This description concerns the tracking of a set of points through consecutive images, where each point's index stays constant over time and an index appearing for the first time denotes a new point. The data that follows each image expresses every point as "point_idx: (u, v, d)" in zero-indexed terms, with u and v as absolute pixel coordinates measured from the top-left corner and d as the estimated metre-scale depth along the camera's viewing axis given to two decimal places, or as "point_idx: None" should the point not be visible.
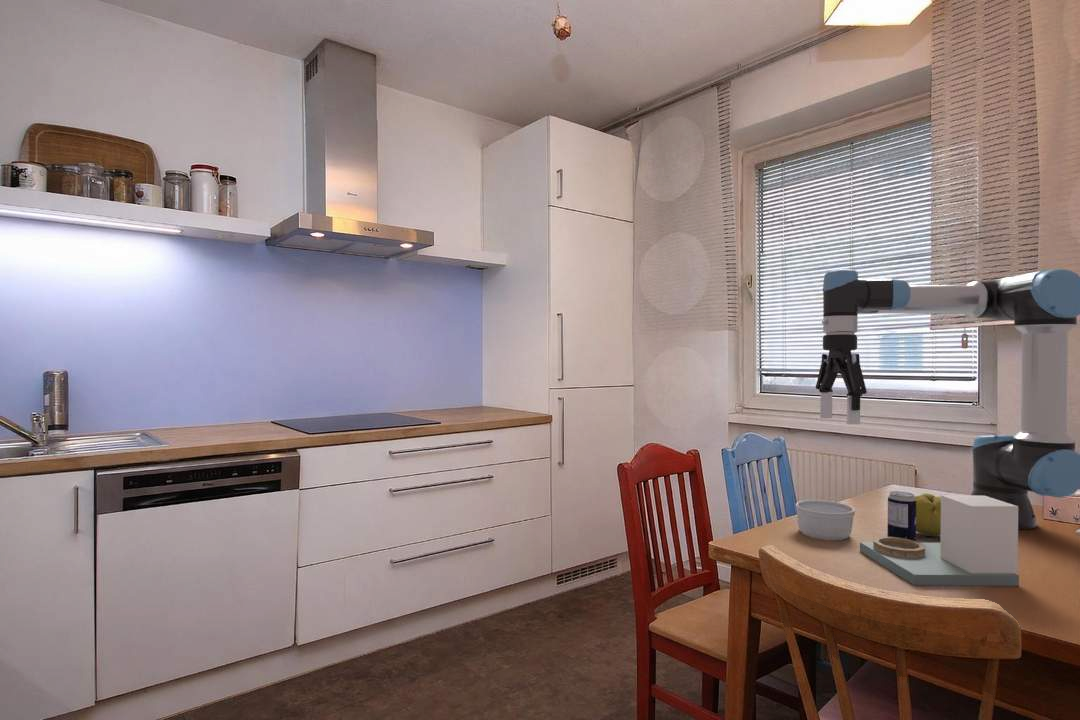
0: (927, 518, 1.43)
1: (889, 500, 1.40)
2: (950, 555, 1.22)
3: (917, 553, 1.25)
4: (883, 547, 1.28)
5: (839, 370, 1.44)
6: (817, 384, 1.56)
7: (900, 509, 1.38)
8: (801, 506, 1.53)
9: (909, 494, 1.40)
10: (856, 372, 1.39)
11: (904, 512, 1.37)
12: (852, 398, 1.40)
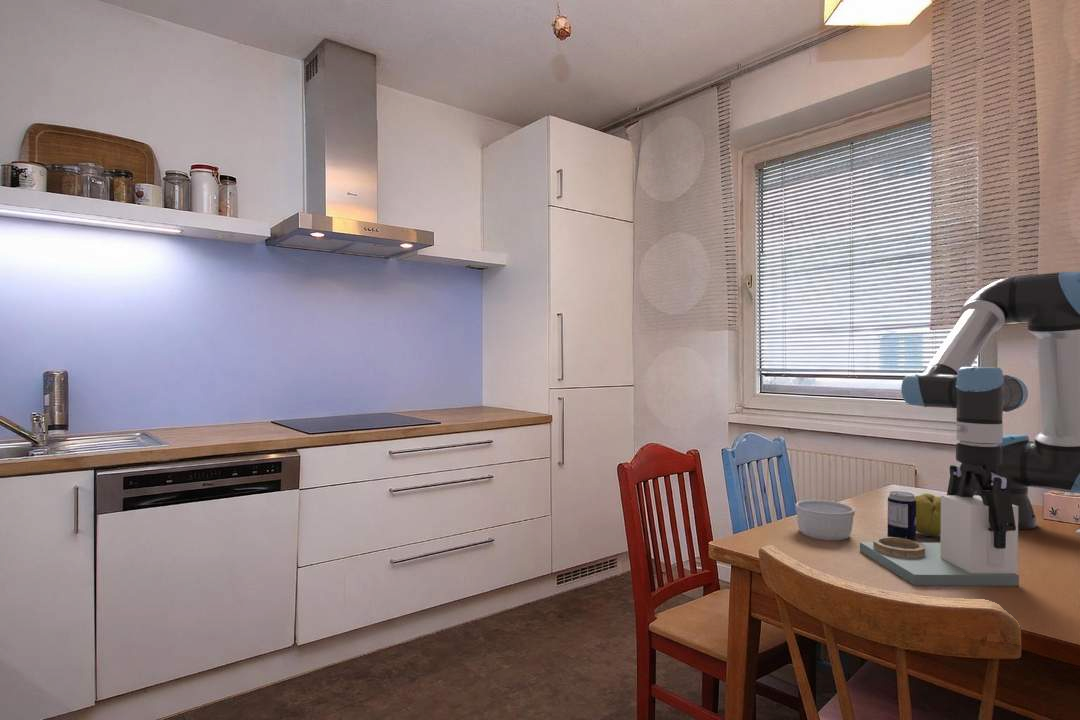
0: (927, 518, 1.43)
1: (889, 500, 1.40)
2: (950, 555, 1.22)
3: (917, 553, 1.25)
4: (883, 547, 1.28)
5: (979, 492, 1.18)
6: None
7: (899, 509, 1.38)
8: (801, 506, 1.53)
9: (909, 494, 1.40)
10: (1005, 502, 1.14)
11: (904, 512, 1.37)
12: (995, 533, 1.15)
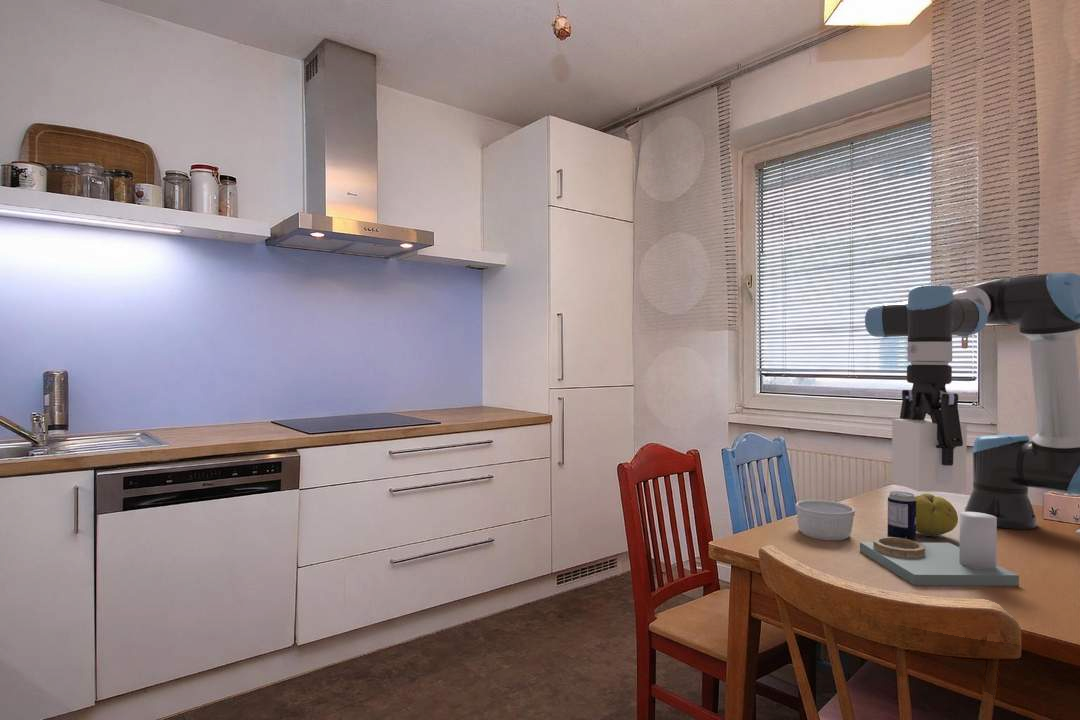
0: (927, 518, 1.43)
1: (889, 500, 1.40)
2: (900, 477, 1.21)
3: (917, 553, 1.25)
4: (883, 547, 1.28)
5: (928, 411, 1.17)
6: None
7: (900, 509, 1.38)
8: (801, 506, 1.53)
9: (909, 494, 1.40)
10: (953, 417, 1.13)
11: (904, 512, 1.37)
12: (943, 451, 1.14)
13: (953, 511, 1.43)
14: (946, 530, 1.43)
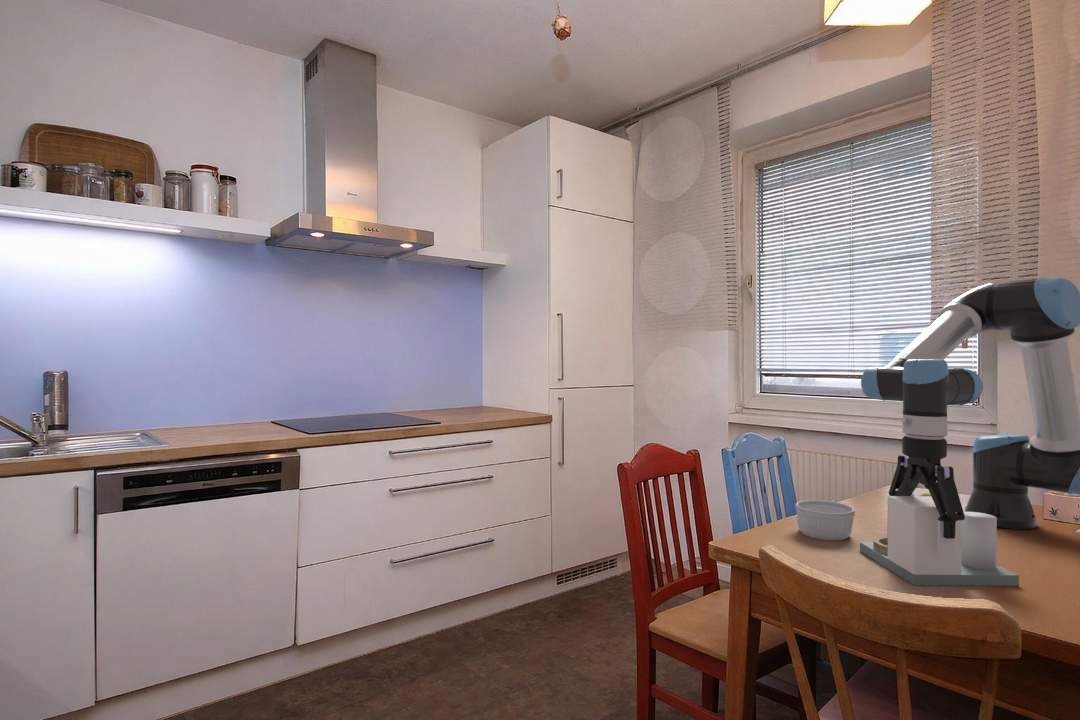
0: None
1: None
2: (896, 556, 1.22)
3: None
4: (883, 547, 1.28)
5: (926, 484, 1.17)
6: (891, 490, 1.29)
7: None
8: (801, 506, 1.53)
9: None
10: (951, 490, 1.12)
11: None
12: (944, 523, 1.13)
13: None
14: None
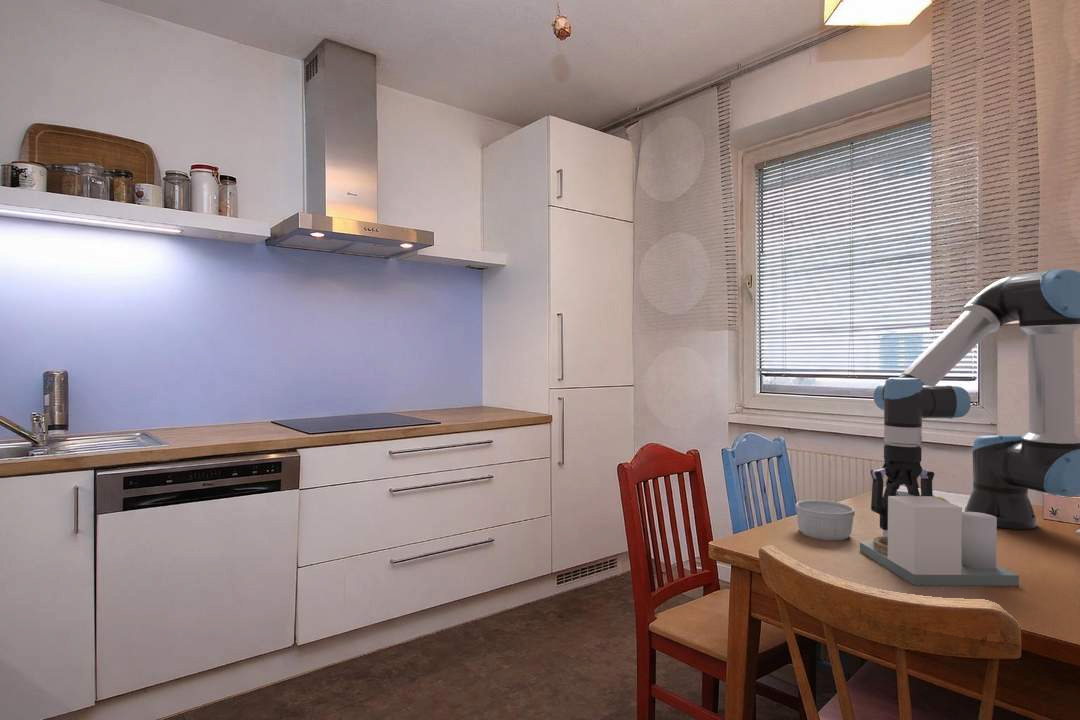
0: None
1: None
2: (896, 556, 1.22)
3: None
4: (883, 547, 1.28)
5: None
6: None
7: None
8: (801, 506, 1.53)
9: (909, 494, 1.40)
10: (875, 490, 1.40)
11: None
12: None
13: None
14: None
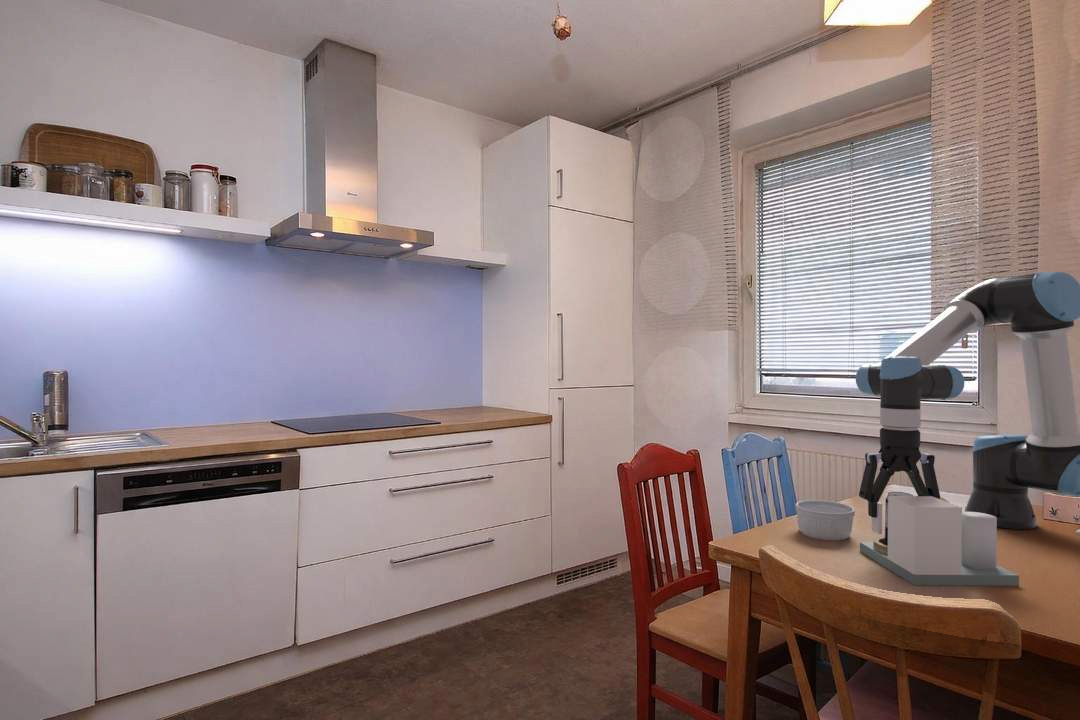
0: None
1: (886, 501, 1.30)
2: (896, 556, 1.22)
3: None
4: (883, 547, 1.28)
5: None
6: None
7: None
8: (801, 506, 1.53)
9: (909, 495, 1.30)
10: (866, 474, 1.30)
11: None
12: None
13: None
14: None
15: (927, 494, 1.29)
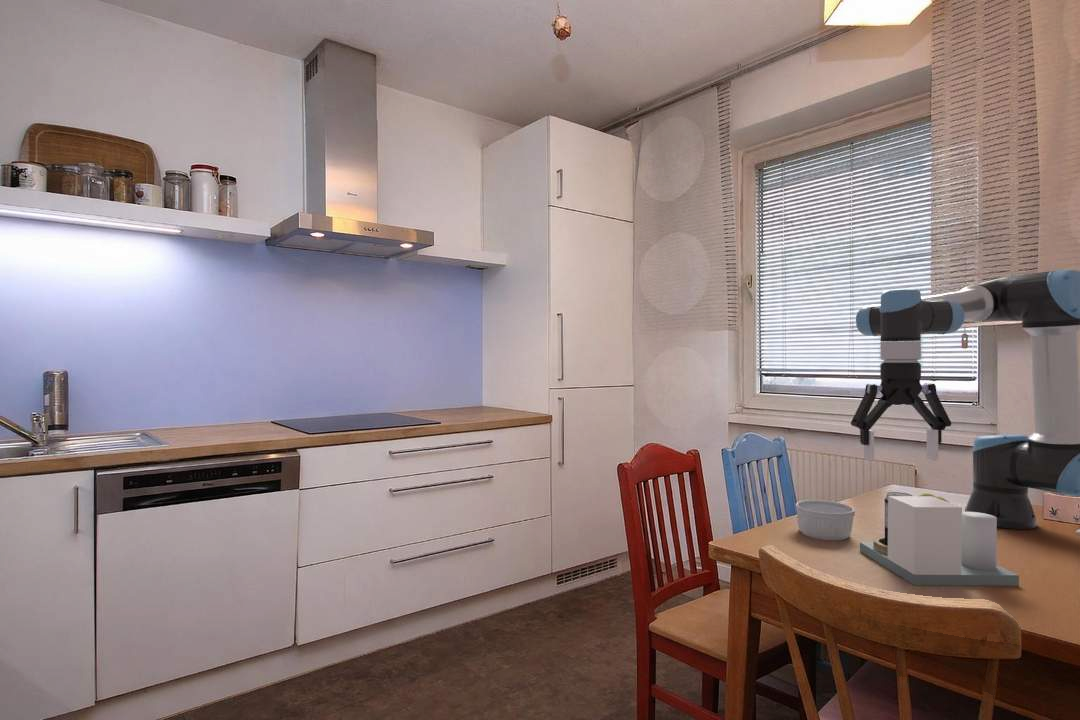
0: None
1: (885, 501, 1.31)
2: (896, 556, 1.22)
3: None
4: (883, 547, 1.28)
5: None
6: None
7: None
8: (801, 506, 1.53)
9: (908, 495, 1.30)
10: (863, 403, 1.30)
11: None
12: None
13: None
14: None
15: (937, 421, 1.29)
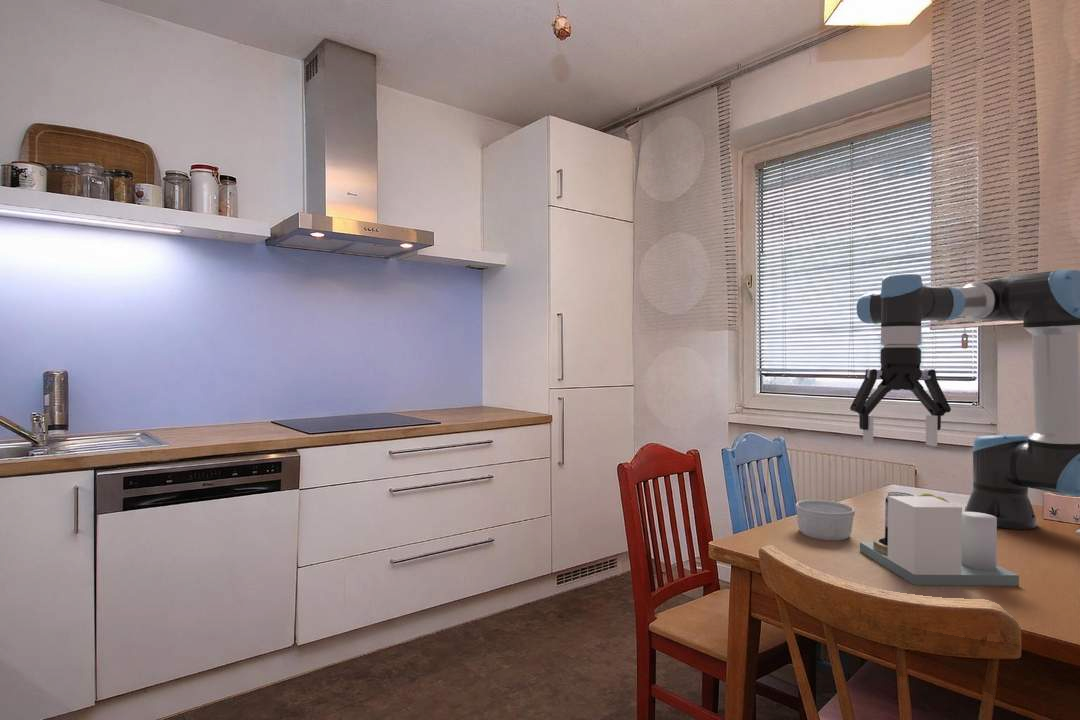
0: None
1: (886, 501, 1.31)
2: (896, 556, 1.22)
3: None
4: (883, 547, 1.28)
5: None
6: None
7: None
8: (801, 506, 1.53)
9: (909, 495, 1.30)
10: (863, 388, 1.30)
11: None
12: None
13: None
14: None
15: (936, 407, 1.29)
